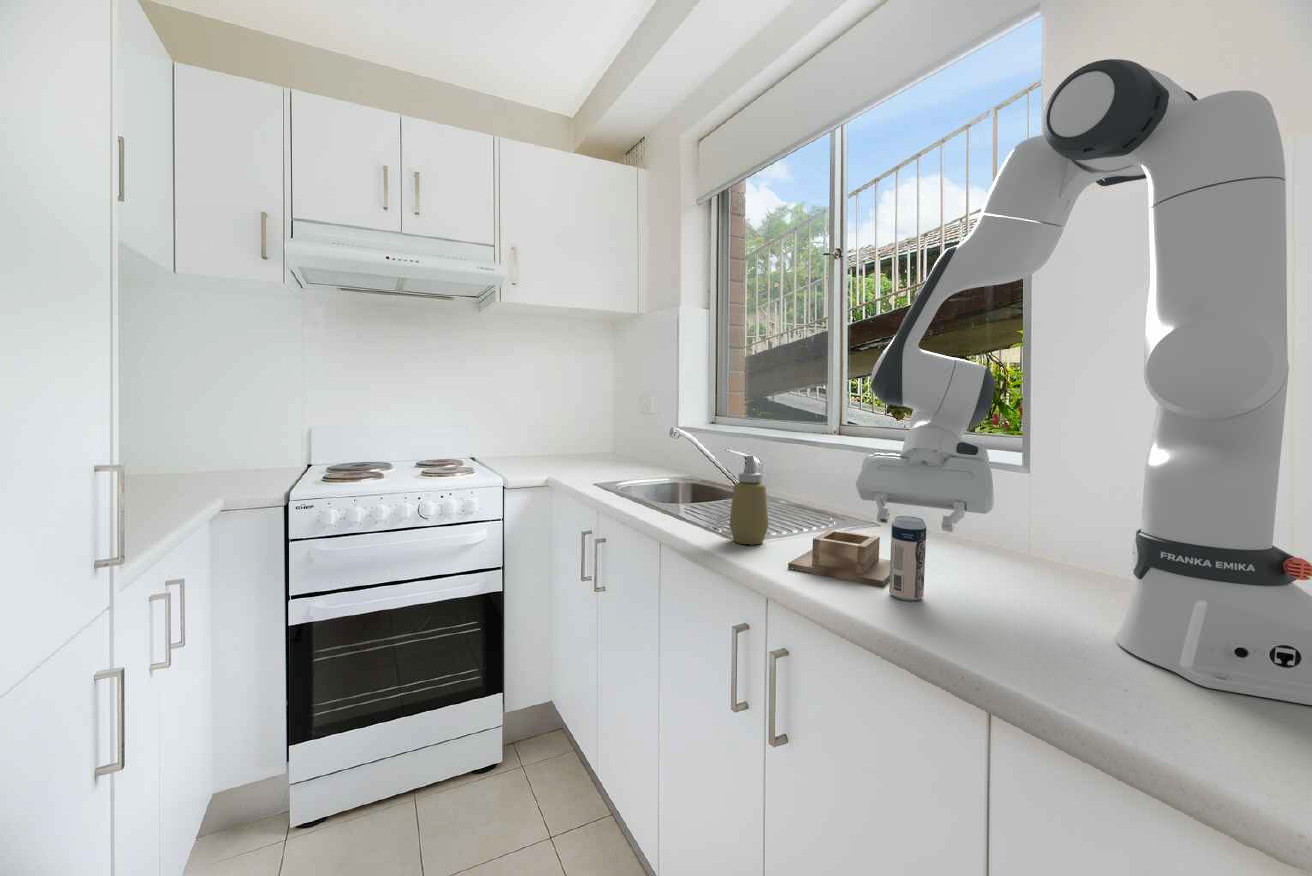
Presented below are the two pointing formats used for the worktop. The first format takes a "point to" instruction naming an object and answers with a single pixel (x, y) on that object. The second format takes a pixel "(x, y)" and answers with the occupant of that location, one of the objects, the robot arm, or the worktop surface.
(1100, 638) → the worktop surface
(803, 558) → the can caddy
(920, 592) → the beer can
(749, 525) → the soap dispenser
